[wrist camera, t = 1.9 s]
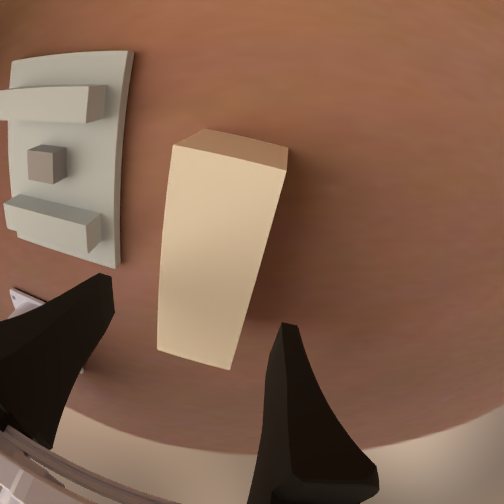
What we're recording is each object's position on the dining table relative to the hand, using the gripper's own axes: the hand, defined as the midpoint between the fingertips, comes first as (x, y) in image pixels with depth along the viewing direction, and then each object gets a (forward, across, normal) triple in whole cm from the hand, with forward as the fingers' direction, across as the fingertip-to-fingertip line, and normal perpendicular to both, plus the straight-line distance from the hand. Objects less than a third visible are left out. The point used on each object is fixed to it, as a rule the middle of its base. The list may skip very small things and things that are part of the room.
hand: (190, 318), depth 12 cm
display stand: (+7, +12, -3) cm, 14 cm away
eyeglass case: (+8, 0, 0) cm, 8 cm away
